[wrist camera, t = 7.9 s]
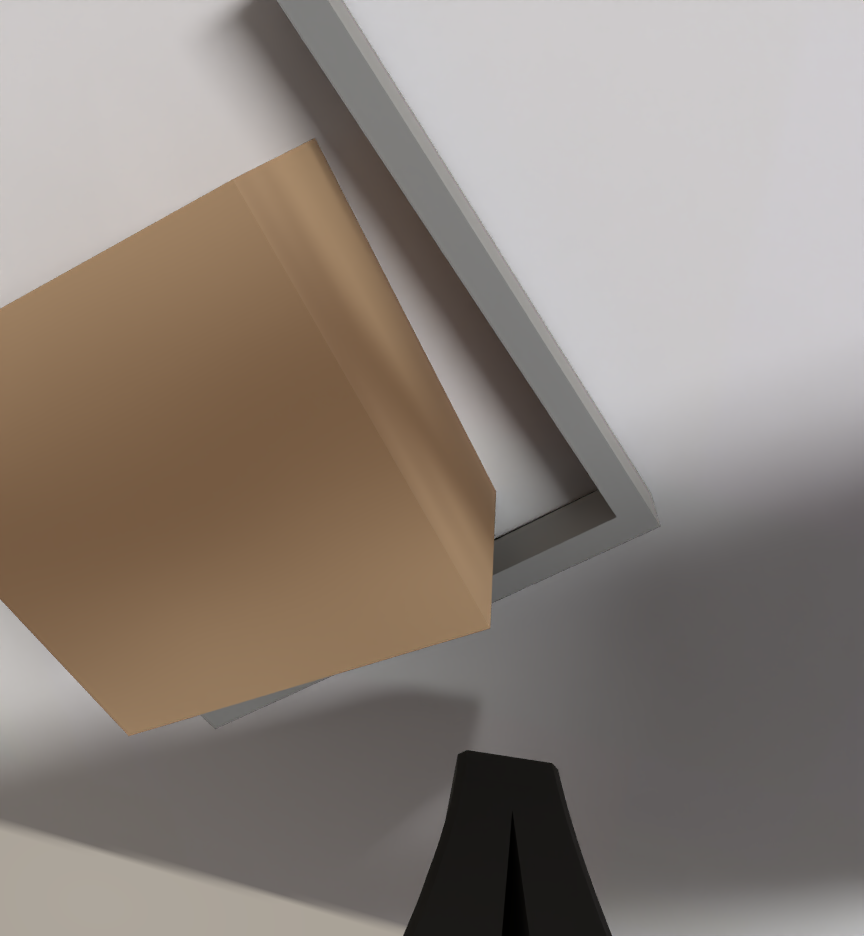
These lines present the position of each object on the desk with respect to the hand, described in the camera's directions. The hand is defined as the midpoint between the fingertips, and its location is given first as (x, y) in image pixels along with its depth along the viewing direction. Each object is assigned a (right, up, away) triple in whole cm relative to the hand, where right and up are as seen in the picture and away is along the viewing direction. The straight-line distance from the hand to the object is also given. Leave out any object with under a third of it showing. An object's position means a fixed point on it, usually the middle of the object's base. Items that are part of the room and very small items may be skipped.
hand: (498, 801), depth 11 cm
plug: (-3, +6, -1) cm, 7 cm away
